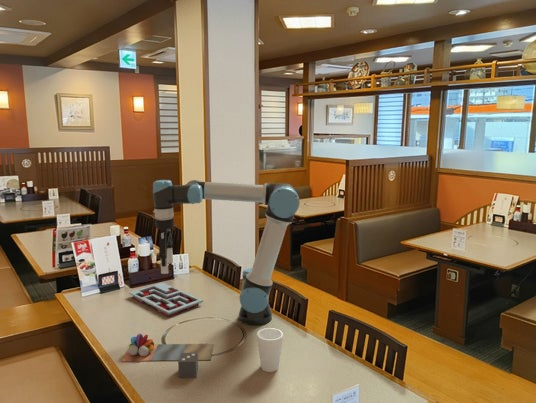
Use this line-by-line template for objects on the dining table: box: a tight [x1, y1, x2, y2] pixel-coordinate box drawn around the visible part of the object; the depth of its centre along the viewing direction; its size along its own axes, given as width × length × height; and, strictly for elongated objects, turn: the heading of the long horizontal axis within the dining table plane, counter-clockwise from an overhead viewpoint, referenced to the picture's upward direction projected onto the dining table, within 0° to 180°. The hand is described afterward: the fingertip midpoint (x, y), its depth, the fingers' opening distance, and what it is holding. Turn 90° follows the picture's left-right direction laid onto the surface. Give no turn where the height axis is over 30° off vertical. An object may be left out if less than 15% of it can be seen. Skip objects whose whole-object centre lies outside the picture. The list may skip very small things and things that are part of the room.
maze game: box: [129, 282, 204, 317], centre depth 215 cm, size 35×20×3 cm, turn 47°
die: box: [177, 353, 199, 379], centre depth 153 cm, size 6×6×6 cm
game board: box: [121, 343, 215, 362], centre depth 167 cm, size 33×12×1 cm, turn 92°
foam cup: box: [256, 327, 284, 373], centre depth 156 cm, size 10×9×13 cm
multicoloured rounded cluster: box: [127, 333, 155, 356], centre depth 166 cm, size 8×10×7 cm
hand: (167, 268), depth 180 cm, fingers open, 13 cm apart
